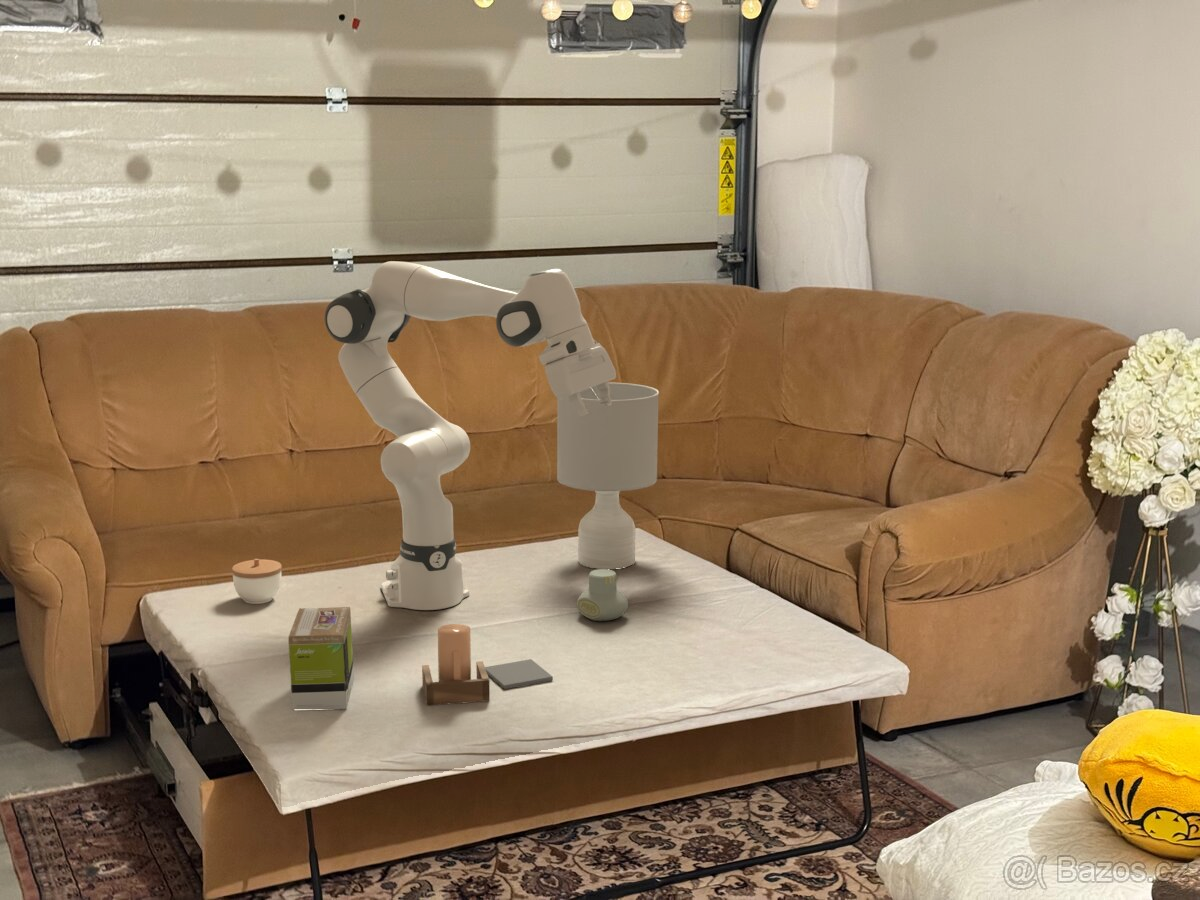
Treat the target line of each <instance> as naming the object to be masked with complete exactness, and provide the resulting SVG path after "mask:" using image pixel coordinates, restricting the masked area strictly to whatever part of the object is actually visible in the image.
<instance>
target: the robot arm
mask: <svg viewBox="0 0 1200 900" xmlns="http://www.w3.org/2000/svg"><path fill="white" fill-rule="evenodd" d="M581 308H582V307H581V302H580V300H579V297H578V295H577V292H576V289H575V288H574V286H573V283H572V281H571V280H570V277H569V276H568V274H567V273H566V271H564V270H562V269H561V268H552V269H546V270H542V271H538V272H533V273H531V274H530V275H528V276H527V278H526V281H525V282H524V285H523V286H522V287H521V289H520V290H519V291H515V290H512V289H511V290H510V289H506V288H502V287H497V286H493V285H487V284H484V283H480V282H477V281H473V280H471V279H467V278H463V277H461V276H459V275H458V276H457V275H455V274H452V273H448V272H447V271H443V270H440V269H437V268H434V267H430V266H427V265H423V264H419V263H414V262H408V261H395V260H393V261H392V260H390V261H386V262H383V263H382V264H381V265H379V266H378V267H377V268H376V270H375V272H374V273H373V276H372V279H371V285H370V286H369V287H368V288H363V289H359V288H358V289H354V290H352V291H348V292H346V293H343V294H341V295H340V296H338V297H336V298H335V299H333V300H332V301H331V302H330V303H329V304H328V305H327V307H326V309H325V312H324V324H325V327H326V330H327V332H328V333H329V335H330V336H331V337H332V338H333V340H335V341H337V342H339V343H342V344H343V345H342V346H341V348H340V349H339V352H338V356H337V358H338V362H339V365H340V368H341V369H342V372H343V374H344V376H345V378H346V381H347V382H348V384H349V386H350V387H351V390H352V391H353V392H354V394H355V396H356V397H357V398H358V401H360V403H361V404H362V406H363V408H364V409H365V410H366V412H367V414H368V415H369V417H370V418H371V420H373V422H374V424H376V425H377V426H378V427H380V428H382V429H385V430H387V431H389V432H390V433H392V434H393V435H395V436H396V437H397V438H394V439H393V440H392V441H391V442H390V443H389V444H388V445H386V446H385V447H384V448H383V450H382V451H381V455H380V467H381V471H382V473H383V475H384V476H385V478H386V479H387V480H388V481H389V482H390V483H392V484H393V485H394V487H395V489H396V491H397V494H398V498H399V502H400V507H401V517H402V519H401V520H402V537H401V541H400V542H401V543H400V545H399V546H400V547H399V549H400V550H399V556H398V557H397V558H396V559H395V560H394V561H393V562H392V563H391V566H390V569H387V570H385V579H386V580H385V581H383V582H382V583H381V585H380V589H381V591H382V593H383V596H384V599H385V601H386V603H387V606H389V607H391V608H404V609H409V610H417V611H434V610H436V611H437V610H442V609H447V608H451V607H454V606H456V605H458V604H459V603H461V602H462V600H463V599H464V598H467V597H469V596H470V590H469V589H467V588H464V578H463V576H464V575H463V567H462V565H463V564H462V561H461V560H460V559H459V558H458V557H456V552H457V551H456V550H457V544H456V538H455V537H454V512H453V511H454V507H453V504H452V502H451V501H450V500H449V499H448V498H447V497H445V495H444V493H443V488H442V486H441V476H443V475H445V474H448V473H451V472H453V471H455V470H456V469H458V468H459V467H460V466H461V465H462V464H463V463H464V462H465V461H467V459H468V457H469V455H470V452H471V441H470V437H469V435H468V433H467V432H466V431H465V429H463V428H462V427H461V426H459V425H457V424H454V423H452V422H449V421H448V420H447V419H445V418H444V417H442V416H441V415H440V414H439V413H437V411H435V410H434V409H433V408H432V407H431V406H430V405H429V404H427V403H426V402H425V401H424V400H423V399H422V398H421V396H420V395H419V394H418V393H417V392H416V390H415V388H414V387H413V386H412V384H411V383H410V382H409V381H408V379H407V377H406V376H405V375H404V373H403V372H402V371H401V369H400V367H399V366H398V365H397V363H396V362H395V360H394V359H393V358H392V356H391V354H390V352H389V351H388V343H395V342H396V340H398V338H399V336H400V334H401V332H402V331H403V330H404V329H405V328H406V326H407V325H408V323H409V321H410V319H411V317H413V318H415V319H419V320H425V321H431V322H432V321H434V322H445V321H453V320H455V319H462V318H467V317H468V318H469V317H475V316H477V317H479V316H483V317H484V316H485V317H492V318H495V324H496V329H497V330H496V331H497V332H498V335H499V337H500V338H501V340H502V341H503V342H504V343H506V344H507V345H509V346H511V347H515V348H516V347H517V348H518V347H527V346H531V345H535V344H539V343H541V342H545V341H547V345H546V346H545V347H544V349H543V350H542V352H541V353H540V354H539V356H538V359H539V362H540V364H541V366H545V367H544V373H545V376H546V379H547V381H548V385H549V386H550V389H551V391H552V393H553V395H554V396H555V398H556V399H557V398H558V399H562V398H565V397H568V398H569V401H570V403H571V404H572V405H573V406H574V407H575V408H576V409H577V412H578V415H579V416H580V417H581V416H584V415H587V414H589V410H588V406H587V405H584V403H583V402H582V400H581V394H580V392H581V391H584V390H586V389H589V388H592V387H594V386H597V389H598V391H600V396H601V399H600V400H599V401H600V403H601V406H602V407H606V406H609V405H611V404H612V401H611V399H610V386H609V383H610V381H613V380H615V379H617V371H616V368H615V366H614V364H613V362H612V360H611V358H610V355H609V353H608V352H607V349H606V348H605V347H604V346H602V344H601V343H600V342H598V341H597V340H596V339H594V338H593V335H592V332H591V330H590V327H589V324H588V322H587V320H586V318H584V315H583V314H582V311H581V310H582V309H581Z"/></svg>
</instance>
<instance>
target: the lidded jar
mask: <svg viewBox="0 0 1200 900" xmlns="http://www.w3.org/2000/svg"><path fill="white" fill-rule="evenodd" d="M282 569H283V566H282V563H280V562H279V561H277V560H272V559H264V558H263V559H261V558H260V559H259V558H254V559H251V560H244V561H241V562H238V563H236V564H234V565H233V566H232V567H231V573H232V581H233V586H234V589H235V592H236V593H237V595H238V596H239V597H240V599H243V601H244V603H247V604H251V605H261V604H266V603H269V602H271V601H273V599H274V597H275V596H276V595H277V594H278V592H279V591H280V588H281V584H282Z"/></svg>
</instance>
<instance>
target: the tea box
mask: <svg viewBox="0 0 1200 900" xmlns="http://www.w3.org/2000/svg"><path fill="white" fill-rule="evenodd" d="M351 614H352V613H351V606H340V607H339V606H338V607H337V606H336V607H333V606H332V607H309V608H306V607H305V608H300V607H299V609H298V611H297V614H296V616H295V619H294V621H293V623H292V627H291V629H290V632H289V634H288V653H289V655H288V656H289V672H290V673H289V674H290V690H291V692H290V693H291V707H292V710H293V709H342V710H346V709H347V708H348V703H349V701H350V695H351V691H352V688H353V684H354V680H355V667H354V666H355V665H354V653H353V652H354V651H353V650H354V649H353V634H352V633H353V632H352V616H351Z"/></svg>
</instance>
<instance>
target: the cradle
mask: <svg viewBox="0 0 1200 900" xmlns="http://www.w3.org/2000/svg"><path fill="white" fill-rule="evenodd" d="M475 663H476V665H475V666H476V679H475V678H474V679H471V680H458V681H444V682H439V681H433V677H432V673H431V668H430V666H429V664H425V665H424V664H423V665H421V668H422V669H421V673H422V678H421V679H422V680H421V681H422V688H423V693H424V694H423V695H424V697H425V701H426V702H427V703H426V702H425V703H426V706H427V705H428V706H439V705H438V704H441V705H449V704H448V703H455V704H464V703H463V702H468V703H475V702H474V701H482V702H489V701H488V700H490V699H491V698H490V696H491V695H490V693H491V692H490V677H489V675H488V674H487V672H486V669H485V667H486V666H485V664H484V661H483V660H482V661H481V660H480V661H476V662H475Z"/></svg>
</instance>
